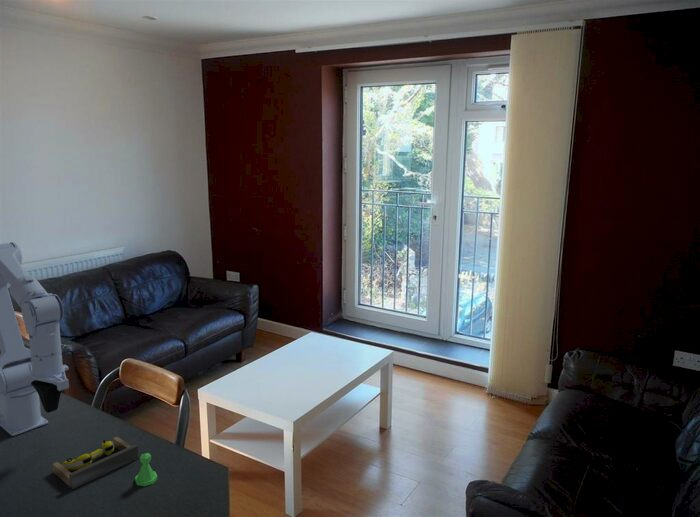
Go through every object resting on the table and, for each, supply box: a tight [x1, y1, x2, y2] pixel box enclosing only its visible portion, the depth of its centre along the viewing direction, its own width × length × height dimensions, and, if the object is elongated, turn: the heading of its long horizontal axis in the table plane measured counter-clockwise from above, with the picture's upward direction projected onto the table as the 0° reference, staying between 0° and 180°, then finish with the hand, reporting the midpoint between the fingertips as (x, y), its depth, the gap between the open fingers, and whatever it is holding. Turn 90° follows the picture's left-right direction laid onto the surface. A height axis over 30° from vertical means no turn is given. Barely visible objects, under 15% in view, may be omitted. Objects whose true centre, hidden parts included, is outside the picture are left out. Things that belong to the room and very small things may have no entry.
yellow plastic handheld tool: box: [61, 439, 115, 471], centre depth 113 cm, size 10×6×4 cm, turn 151°
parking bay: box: [52, 436, 139, 490], centre depth 111 cm, size 8×14×3 cm, turn 142°
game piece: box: [134, 452, 158, 487], centre depth 107 cm, size 4×4×6 cm
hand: (51, 410), depth 115 cm, fingers closed
